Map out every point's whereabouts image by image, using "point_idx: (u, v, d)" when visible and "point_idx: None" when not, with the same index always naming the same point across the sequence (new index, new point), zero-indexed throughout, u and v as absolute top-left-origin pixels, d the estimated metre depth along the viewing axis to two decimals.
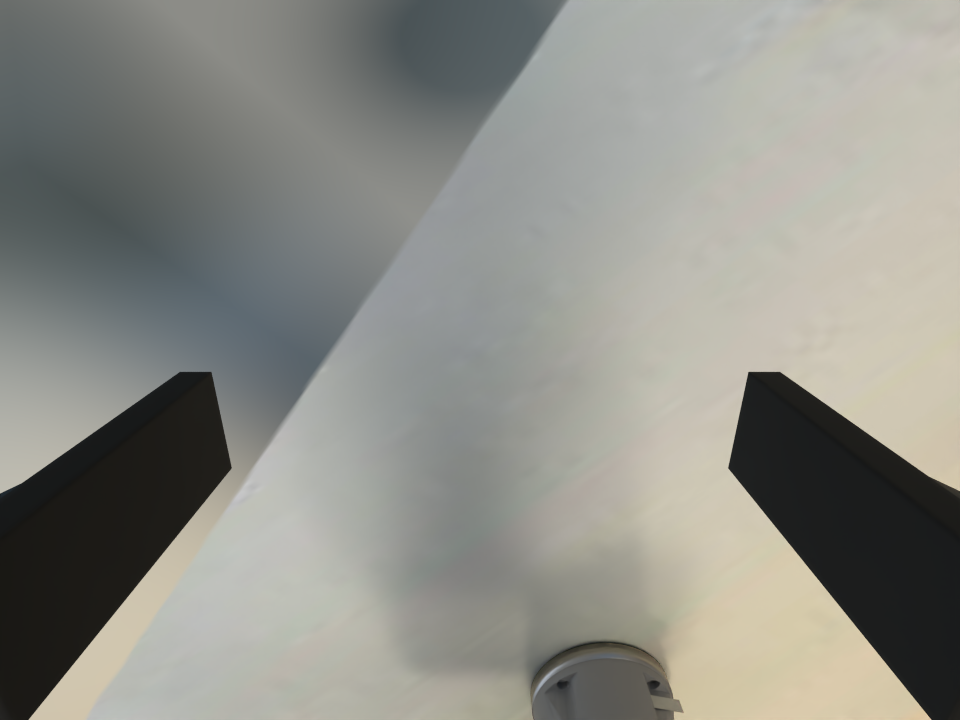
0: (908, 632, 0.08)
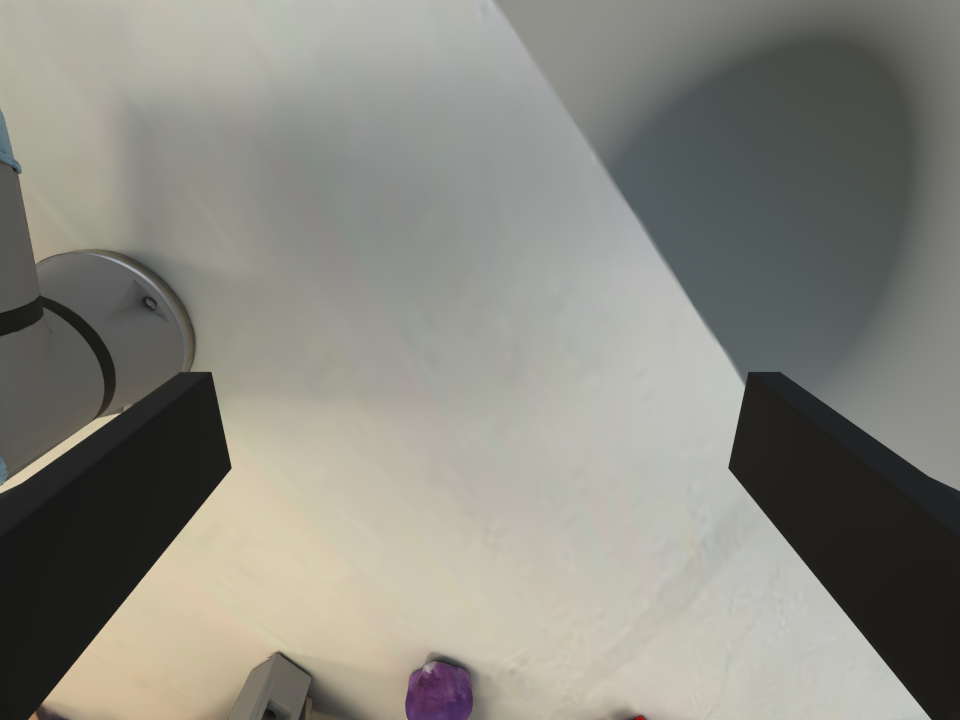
0: (908, 631, 0.08)
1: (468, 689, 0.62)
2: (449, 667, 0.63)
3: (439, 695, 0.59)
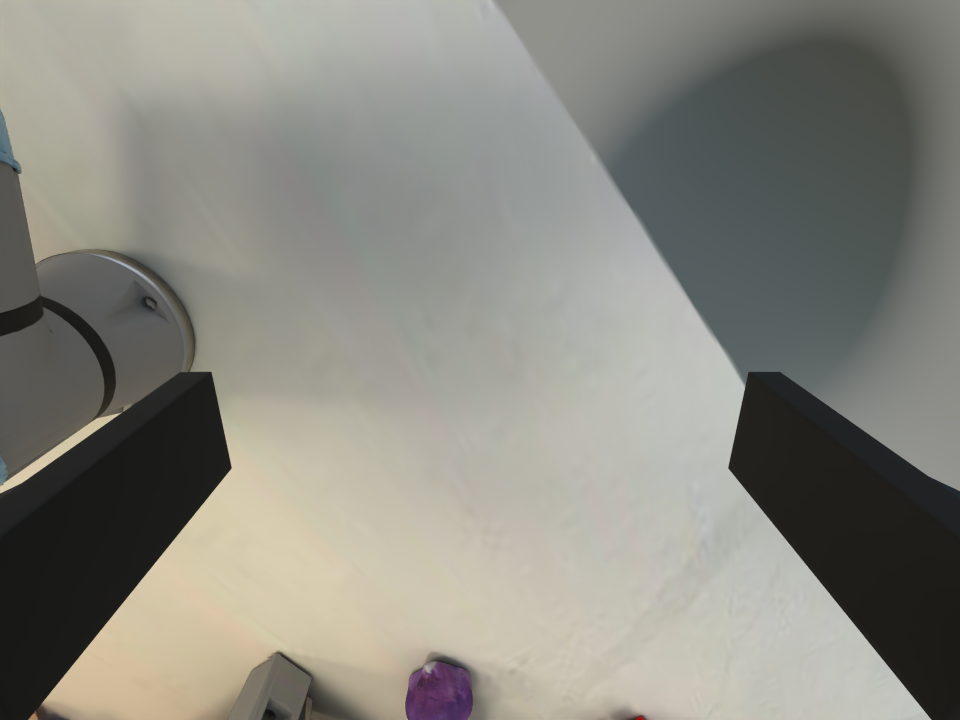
0: (908, 631, 0.08)
1: (468, 689, 0.62)
2: (449, 667, 0.63)
3: (439, 695, 0.59)
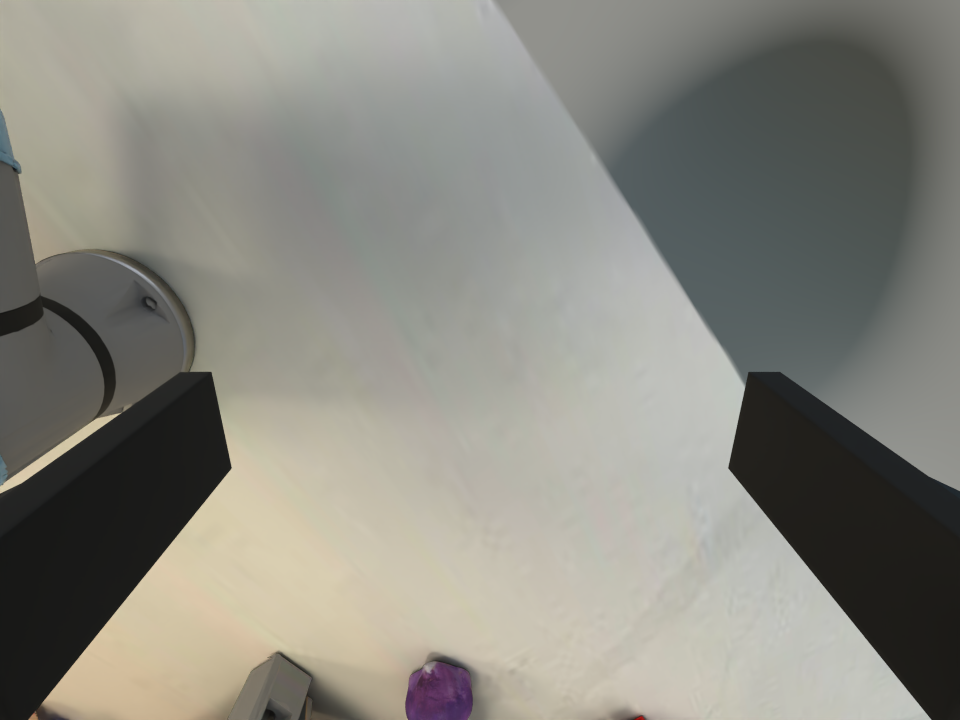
0: (908, 631, 0.08)
1: (468, 689, 0.62)
2: (449, 667, 0.63)
3: (439, 695, 0.59)
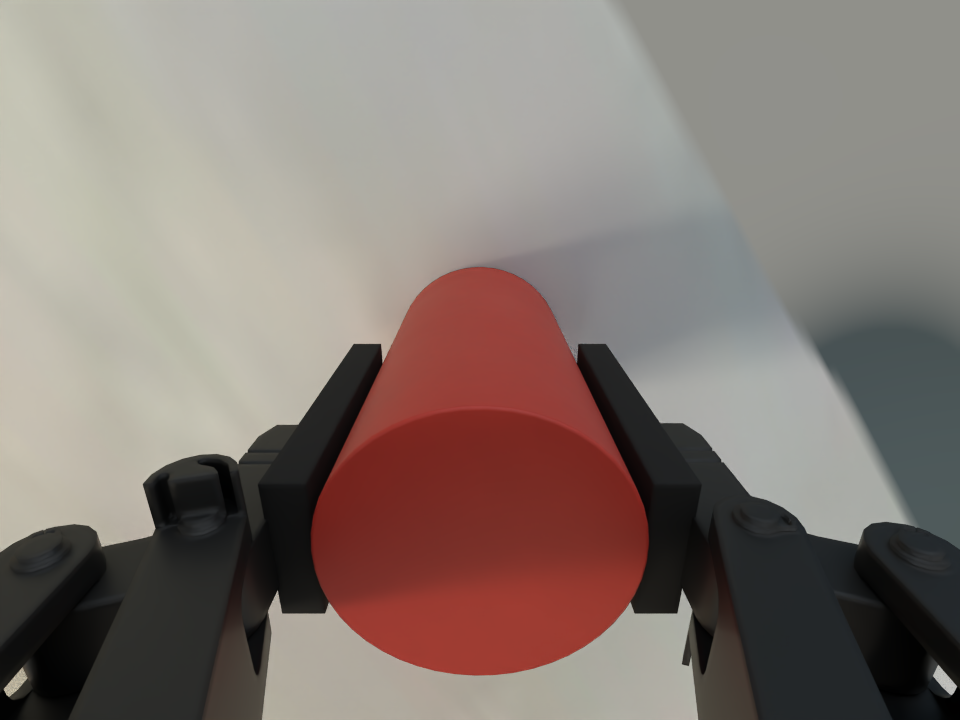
0: None
1: None
2: None
3: None
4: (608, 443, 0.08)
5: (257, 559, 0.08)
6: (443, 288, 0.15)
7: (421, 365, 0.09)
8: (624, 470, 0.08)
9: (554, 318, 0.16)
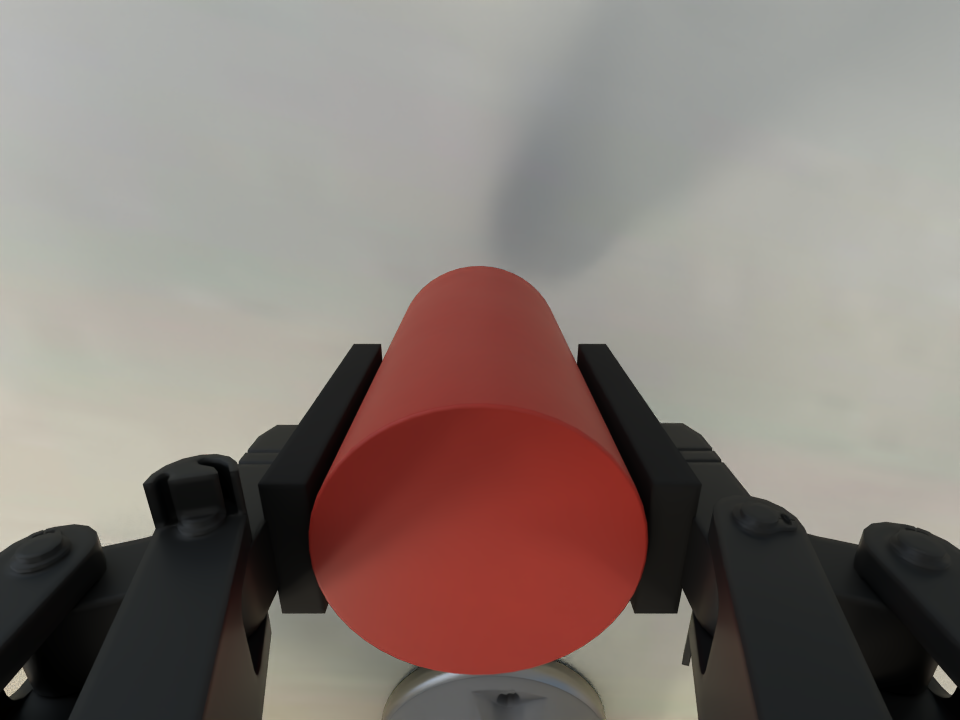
0: None
1: None
2: None
3: None
4: (607, 441, 0.08)
5: (257, 559, 0.08)
6: (442, 287, 0.15)
7: (420, 364, 0.09)
8: (623, 468, 0.08)
9: (553, 317, 0.16)
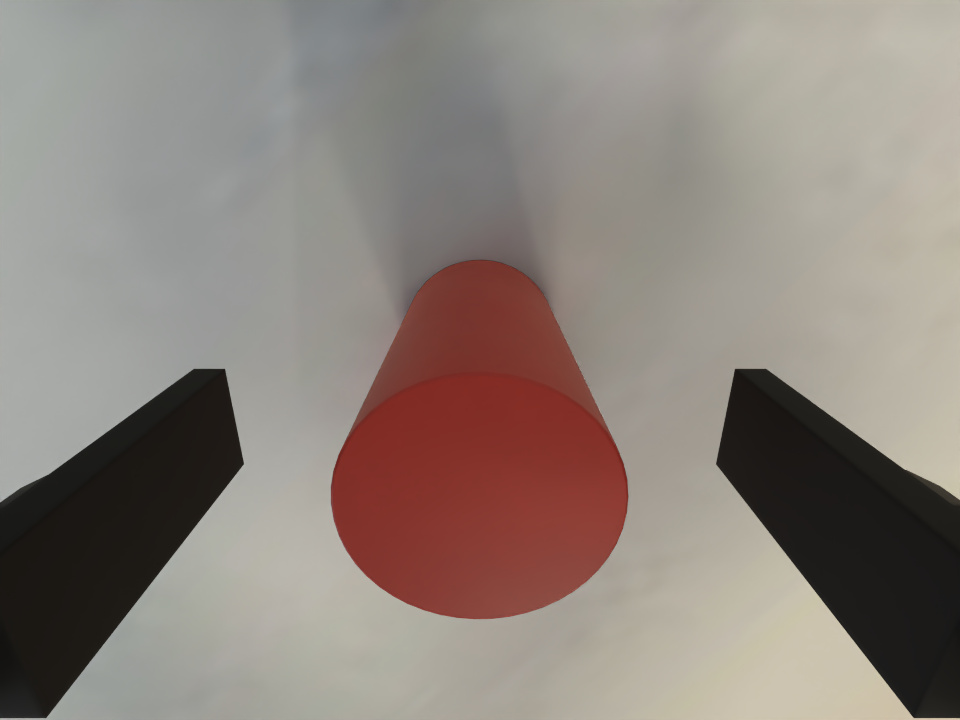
0: (884, 621, 0.08)
1: None
2: None
3: None
4: (592, 408, 0.09)
5: None
6: (446, 279, 0.16)
7: (428, 343, 0.10)
8: (605, 430, 0.09)
9: (549, 307, 0.17)
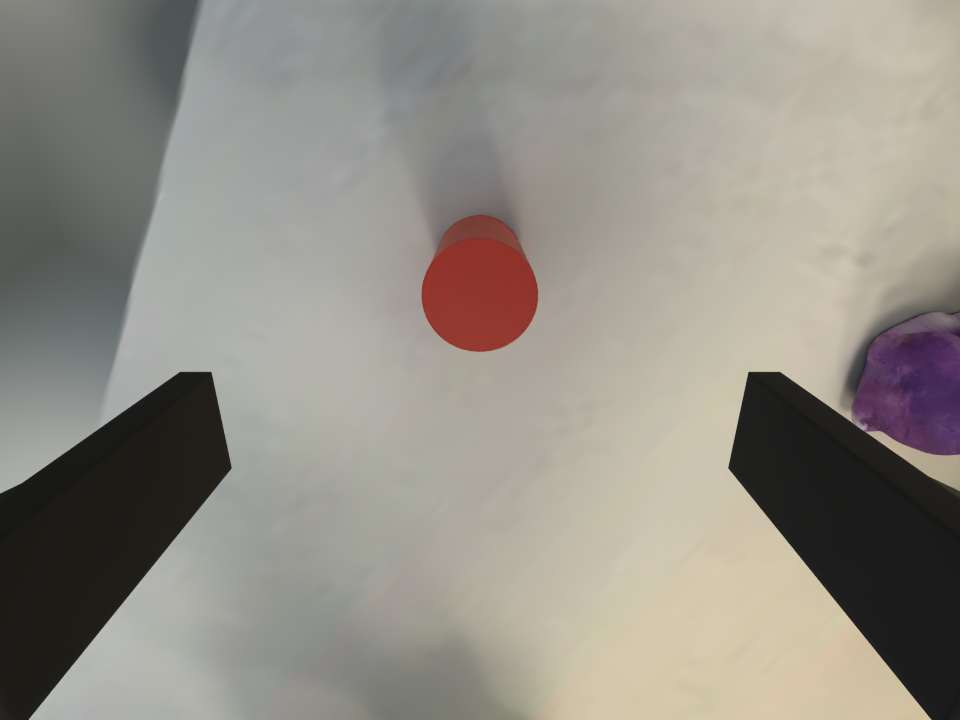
0: (909, 631, 0.08)
1: (898, 352, 0.33)
2: (862, 381, 0.35)
3: (899, 423, 0.32)
4: (523, 256, 0.24)
5: None
6: (462, 222, 0.30)
7: (458, 236, 0.25)
8: (527, 262, 0.23)
9: None
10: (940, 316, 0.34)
